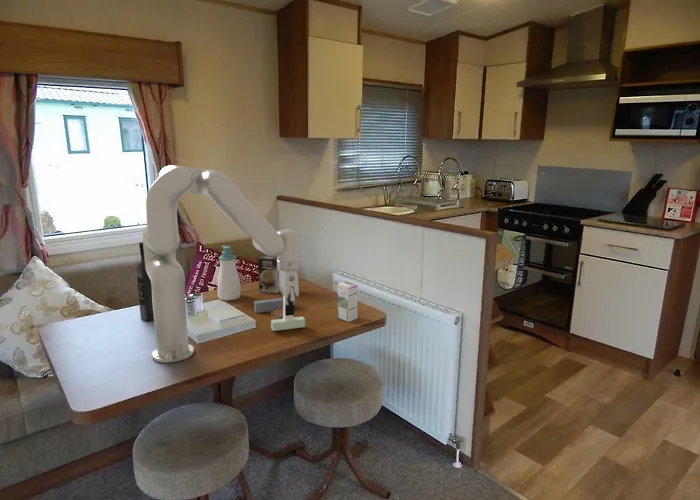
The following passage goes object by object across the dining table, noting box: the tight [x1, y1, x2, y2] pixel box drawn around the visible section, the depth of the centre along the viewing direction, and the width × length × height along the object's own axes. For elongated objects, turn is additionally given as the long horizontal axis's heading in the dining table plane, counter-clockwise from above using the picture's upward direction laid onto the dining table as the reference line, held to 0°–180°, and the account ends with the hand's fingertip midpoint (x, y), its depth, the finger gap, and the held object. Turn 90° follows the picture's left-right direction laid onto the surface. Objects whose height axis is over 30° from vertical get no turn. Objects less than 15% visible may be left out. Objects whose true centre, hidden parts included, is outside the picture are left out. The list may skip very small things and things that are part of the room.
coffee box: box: [257, 254, 281, 294], centre depth 208 cm, size 9×6×16 cm
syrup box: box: [337, 280, 359, 323], centre depth 176 cm, size 6×6×14 cm
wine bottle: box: [135, 241, 154, 322], centre depth 172 cm, size 6×6×30 cm
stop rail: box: [253, 297, 283, 314], centre depth 186 cm, size 3×16×4 cm, turn 113°
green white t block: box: [270, 294, 306, 332], centre depth 165 cm, size 12×3×13 cm, turn 113°
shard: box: [269, 308, 283, 320], centre depth 180 cm, size 11×8×2 cm
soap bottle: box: [217, 245, 242, 301], centre depth 198 cm, size 10×10×23 cm
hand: (288, 312), depth 165 cm, fingers closed on green white t block, 3 cm apart
